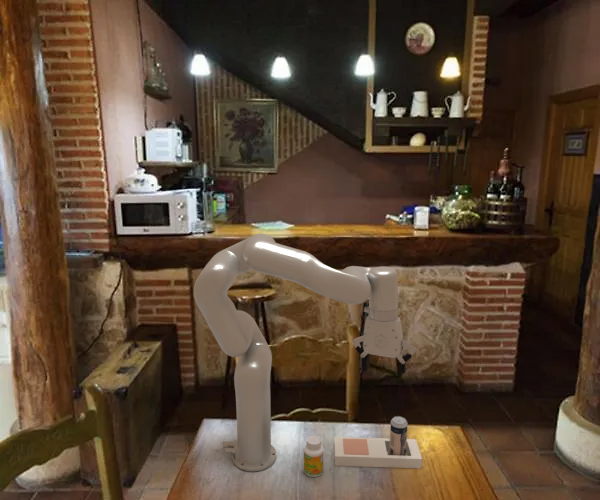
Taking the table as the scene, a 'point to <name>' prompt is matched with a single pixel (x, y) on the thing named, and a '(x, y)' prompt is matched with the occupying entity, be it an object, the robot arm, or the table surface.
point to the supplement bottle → (313, 457)
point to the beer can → (398, 436)
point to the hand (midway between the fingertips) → (383, 372)
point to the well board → (374, 453)
